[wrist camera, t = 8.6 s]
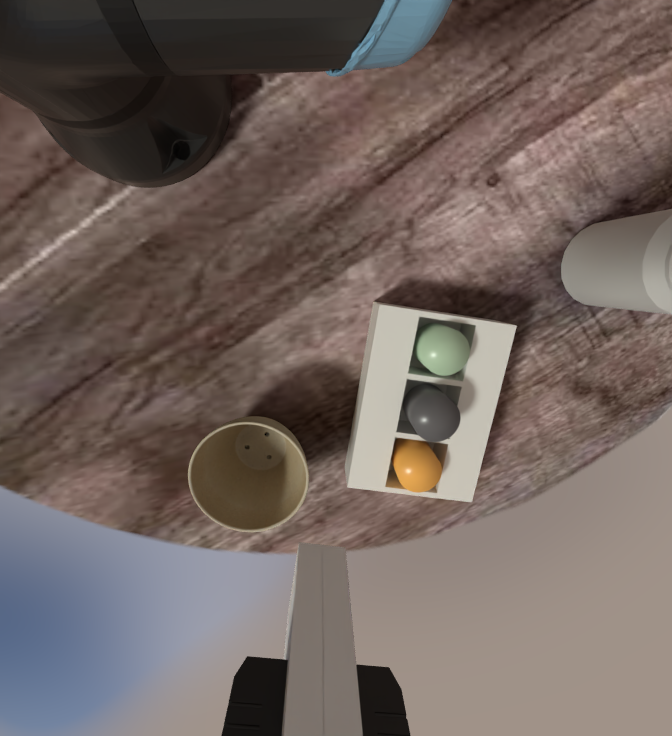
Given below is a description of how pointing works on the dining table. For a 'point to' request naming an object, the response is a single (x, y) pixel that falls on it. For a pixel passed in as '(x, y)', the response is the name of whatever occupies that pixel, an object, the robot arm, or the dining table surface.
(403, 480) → the orange rounded piece
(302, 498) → the flower pot
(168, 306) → the dining table surface
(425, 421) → the black button
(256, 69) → the robot arm
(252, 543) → the dining table surface
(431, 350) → the green button
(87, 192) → the dining table surface
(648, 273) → the can
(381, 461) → the white compartment box
